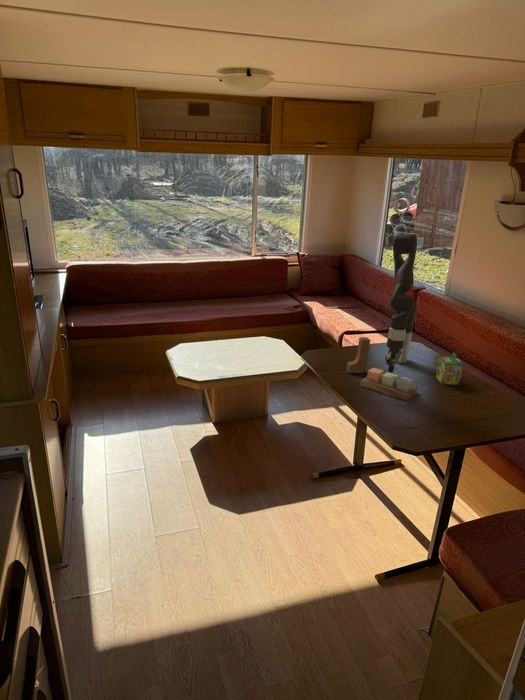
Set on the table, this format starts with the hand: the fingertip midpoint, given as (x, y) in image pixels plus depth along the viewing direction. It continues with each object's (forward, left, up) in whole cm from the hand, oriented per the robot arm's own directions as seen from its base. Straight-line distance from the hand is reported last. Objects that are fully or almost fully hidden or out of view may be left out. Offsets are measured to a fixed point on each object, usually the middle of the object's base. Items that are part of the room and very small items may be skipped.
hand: (390, 372), depth 233 cm
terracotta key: (0, -7, -7) cm, 10 cm away
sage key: (0, 0, -7) cm, 7 cm away
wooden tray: (0, 0, -9) cm, 9 cm away
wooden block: (-8, -21, -9) cm, 25 cm away
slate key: (0, +8, -7) cm, 10 cm away
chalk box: (-31, +18, -9) cm, 37 cm away
